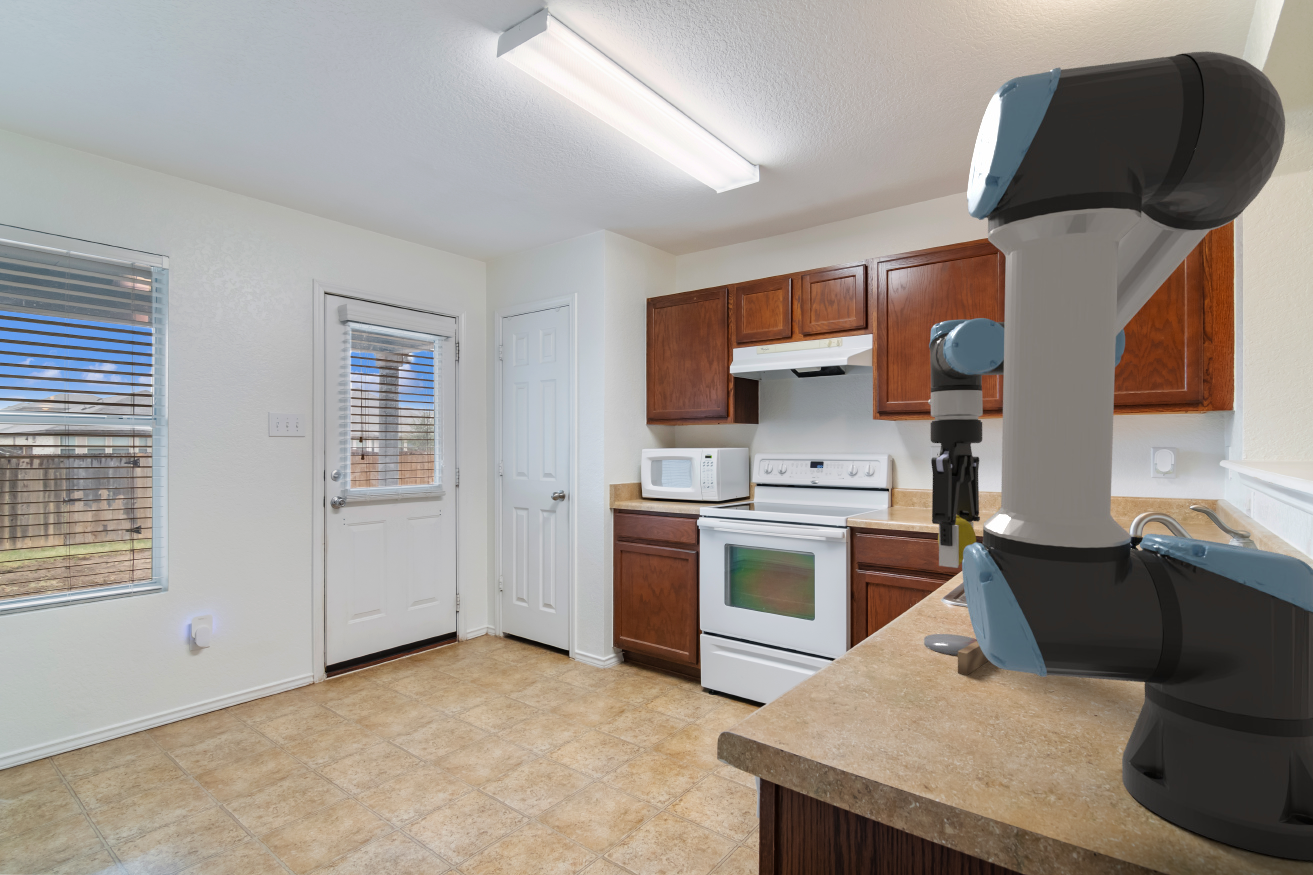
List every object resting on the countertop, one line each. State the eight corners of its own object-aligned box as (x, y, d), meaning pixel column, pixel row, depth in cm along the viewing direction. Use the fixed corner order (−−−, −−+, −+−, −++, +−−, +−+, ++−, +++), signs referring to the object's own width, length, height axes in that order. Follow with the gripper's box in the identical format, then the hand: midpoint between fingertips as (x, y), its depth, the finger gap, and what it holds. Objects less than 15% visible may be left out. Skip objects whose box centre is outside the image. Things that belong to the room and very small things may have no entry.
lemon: (980, 569, 98) (980, 517, 98) (942, 567, 99) (942, 516, 99) (970, 562, 104) (970, 513, 104) (934, 561, 105) (934, 512, 105)
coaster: (974, 660, 95) (974, 654, 95) (914, 646, 101) (914, 641, 101) (994, 647, 101) (994, 642, 101) (937, 635, 108) (937, 630, 108)
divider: (966, 674, 89) (966, 653, 89) (957, 672, 89) (957, 651, 90) (1008, 647, 101) (1008, 628, 101) (1000, 645, 102) (1000, 626, 102)
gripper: (954, 420, 111) (955, 553, 111) (907, 417, 98) (907, 568, 98) (1001, 419, 105) (1001, 559, 105) (957, 416, 93) (958, 575, 92)
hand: (956, 563), depth 101 cm, fingers closed on lemon, 5 cm apart
